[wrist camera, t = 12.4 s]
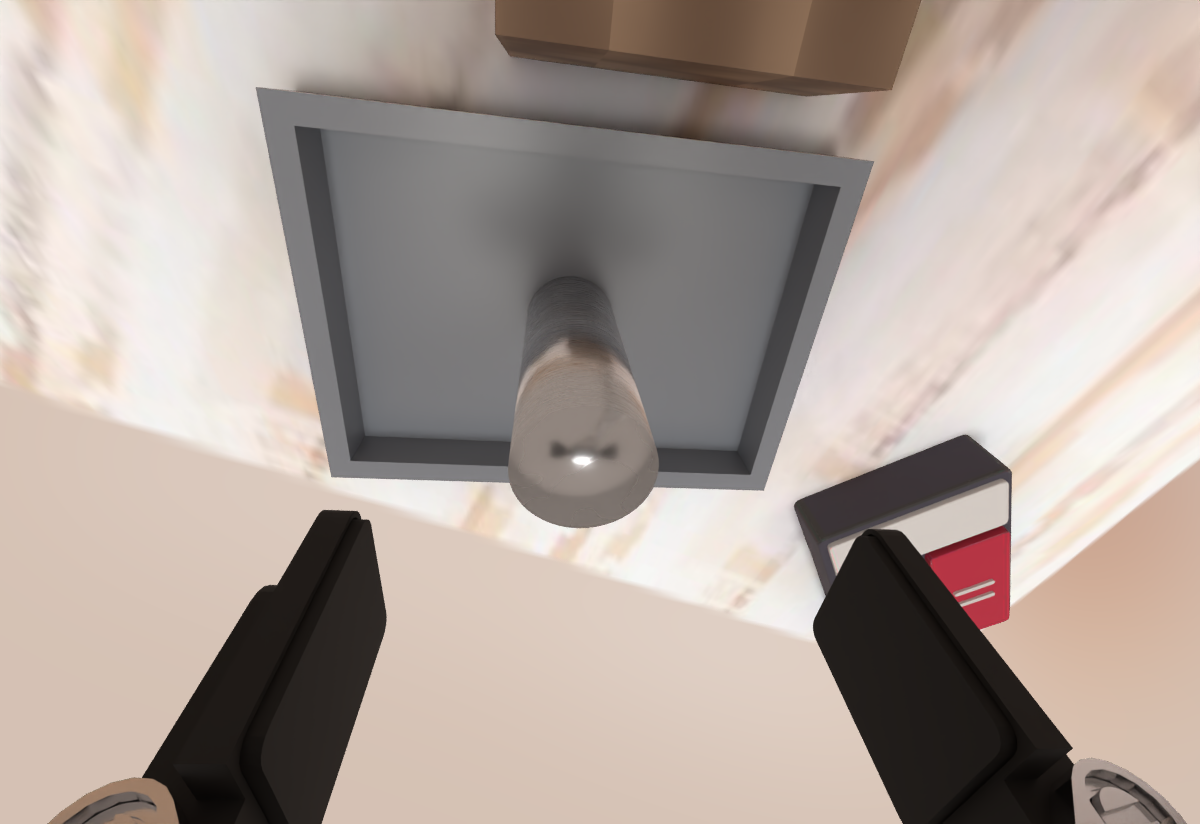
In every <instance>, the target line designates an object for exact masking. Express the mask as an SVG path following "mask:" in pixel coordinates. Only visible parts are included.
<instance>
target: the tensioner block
mask: <svg viewBox="0 0 1200 824" xmlns="http://www.w3.org/2000/svg"><path fill="white" fill-rule="evenodd" d="M920 3H921V0H495V35H496V36H497V38H498V39H499V41H500V42H501V44H502V45H503V47H504V48H505V50H506V51H507V53H508V54H509V56H512V57H519V58H527V59H534V60H541V61H549V62H556V63H564V64H571V65H578V66H586V67H593V68H601V69H608V70H615V71H623V72H630V73H638V74H645V75H652V76H660V77H667V78H675V79H682V80H689V81H697V82H704V83H712V84H719V85H726V86H734V87H741V88H749V89H756V90H763V91H771V92H778V93H786V94H793V95H800V96H818V95H831V94H844V93H858V92H871V91H884V90H892V87H893V84H894V81H895V78H896V75H897V72H898V69H899V66H900V63H901V60H902V57H903V54H904V51H905V48H906V45H907V42H908V39H909V36H910V33H911V30H912V27H913V24H914V21H915V18H916V15H917V12H918V9H919V6H920Z"/></svg>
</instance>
